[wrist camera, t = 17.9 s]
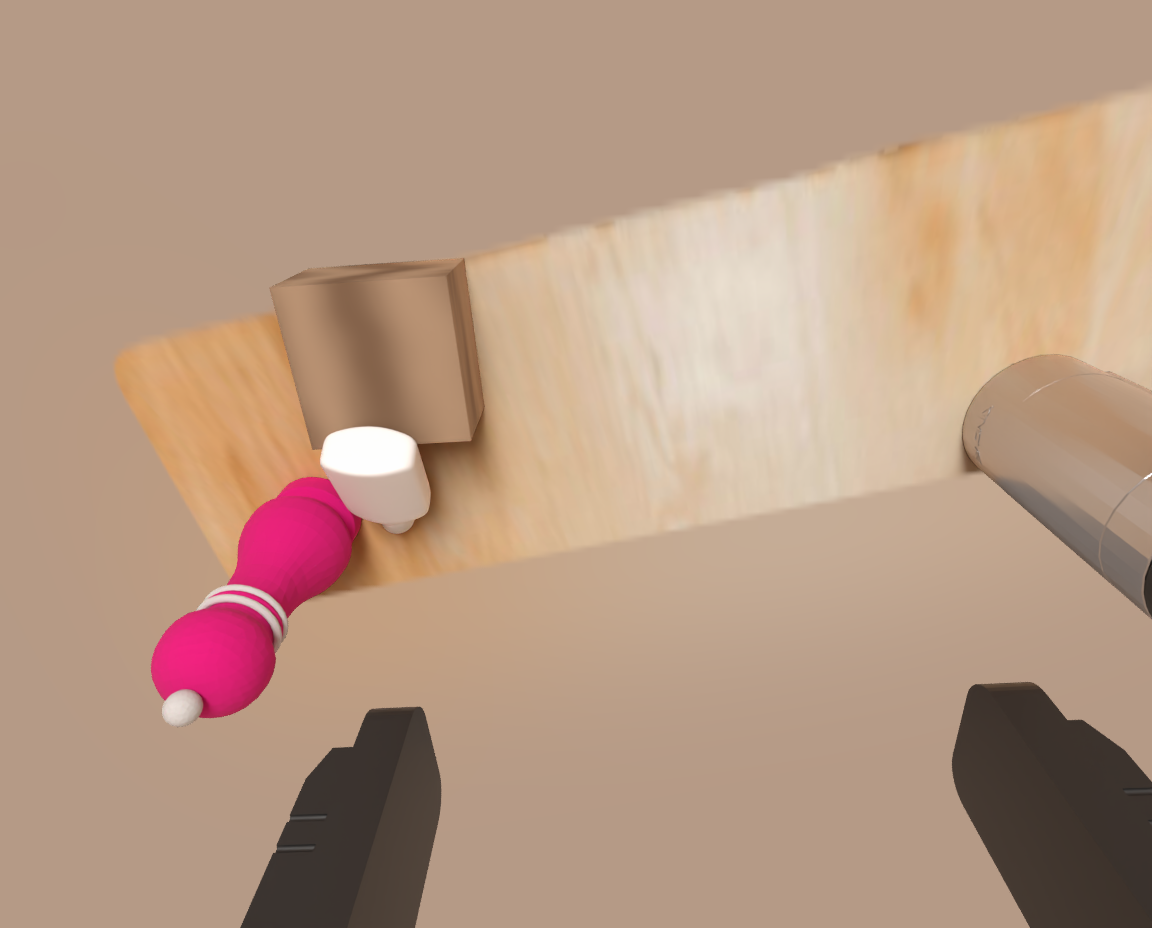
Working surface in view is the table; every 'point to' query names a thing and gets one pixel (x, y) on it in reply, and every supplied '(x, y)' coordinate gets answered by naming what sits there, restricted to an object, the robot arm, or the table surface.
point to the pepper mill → (254, 604)
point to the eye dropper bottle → (378, 475)
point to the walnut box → (383, 349)
